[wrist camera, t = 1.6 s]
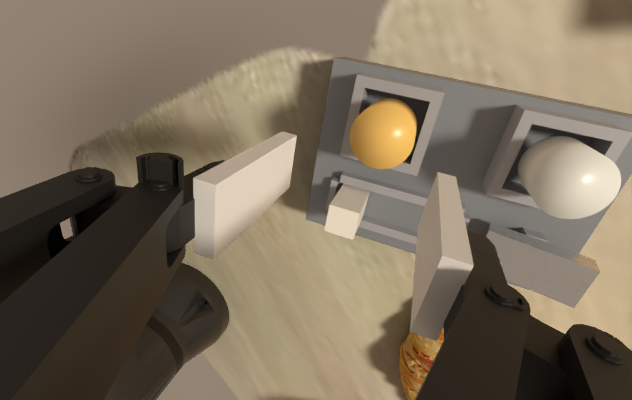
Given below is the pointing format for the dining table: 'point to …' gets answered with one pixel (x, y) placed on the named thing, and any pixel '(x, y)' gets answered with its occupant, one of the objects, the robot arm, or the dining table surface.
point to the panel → (456, 153)
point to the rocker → (542, 265)
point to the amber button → (384, 133)
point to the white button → (568, 177)
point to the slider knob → (346, 211)
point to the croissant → (416, 361)
